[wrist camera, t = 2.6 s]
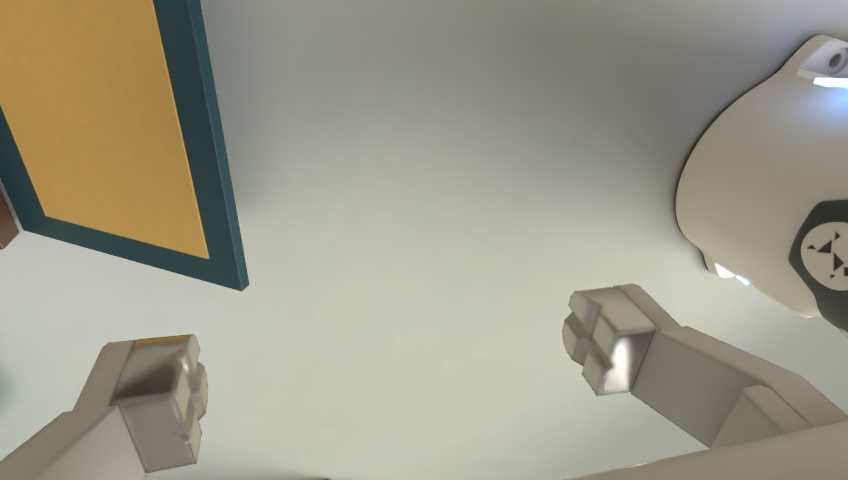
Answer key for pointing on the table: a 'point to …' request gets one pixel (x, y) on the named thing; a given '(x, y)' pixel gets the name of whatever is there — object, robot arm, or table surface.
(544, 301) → the table surface
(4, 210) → the walnut foot
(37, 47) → the sign board
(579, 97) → the table surface
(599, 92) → the table surface
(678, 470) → the robot arm
